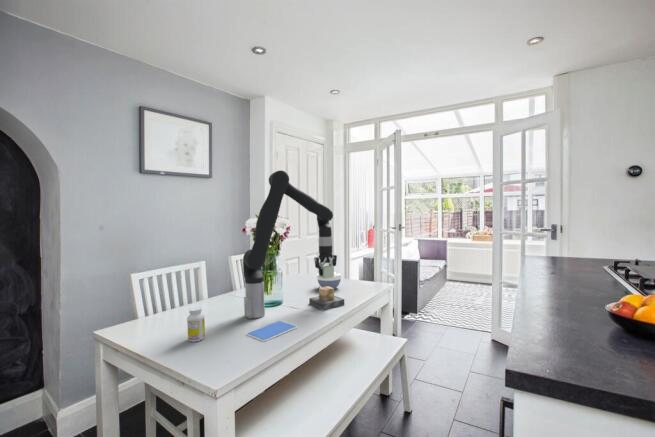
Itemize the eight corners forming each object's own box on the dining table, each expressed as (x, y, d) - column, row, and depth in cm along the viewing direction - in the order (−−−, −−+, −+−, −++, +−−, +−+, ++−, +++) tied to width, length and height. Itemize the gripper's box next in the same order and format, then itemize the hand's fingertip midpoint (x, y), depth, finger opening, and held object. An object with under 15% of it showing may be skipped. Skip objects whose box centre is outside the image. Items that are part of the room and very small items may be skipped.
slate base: (323, 309, 169) (323, 304, 169) (309, 303, 181) (309, 298, 181) (344, 304, 177) (344, 299, 177) (329, 298, 189) (329, 293, 189)
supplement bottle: (200, 334, 140) (199, 305, 139) (208, 338, 135) (207, 308, 135) (185, 339, 134) (183, 309, 134) (193, 343, 130) (191, 312, 130)
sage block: (324, 278, 174) (324, 267, 174) (318, 276, 179) (318, 266, 179) (333, 277, 178) (333, 266, 178) (327, 275, 183) (327, 264, 182)
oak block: (325, 301, 175) (325, 290, 175) (319, 298, 180) (318, 287, 179) (334, 299, 178) (333, 288, 178) (327, 296, 183) (327, 286, 183)
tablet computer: (264, 343, 130) (264, 340, 130) (245, 336, 138) (245, 333, 138) (298, 329, 145) (298, 326, 145) (279, 323, 153) (279, 320, 153)
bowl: (314, 286, 218) (314, 272, 218) (336, 284, 223) (336, 270, 223) (321, 292, 203) (320, 277, 203) (344, 290, 208) (344, 275, 208)
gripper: (332, 242, 185) (332, 272, 186) (310, 245, 177) (311, 275, 177) (339, 244, 179) (340, 274, 180) (318, 246, 171) (319, 277, 171)
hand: (326, 274), depth 178 cm, fingers closed on sage block, 6 cm apart
